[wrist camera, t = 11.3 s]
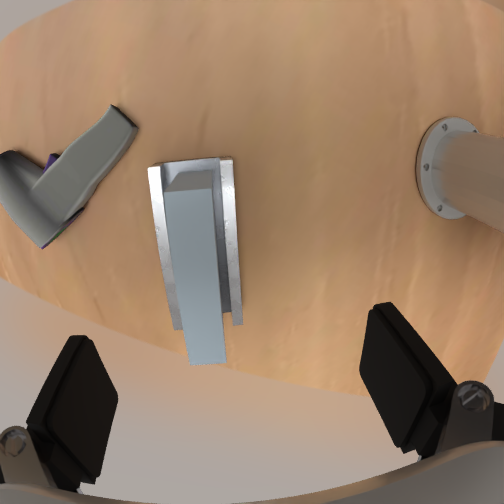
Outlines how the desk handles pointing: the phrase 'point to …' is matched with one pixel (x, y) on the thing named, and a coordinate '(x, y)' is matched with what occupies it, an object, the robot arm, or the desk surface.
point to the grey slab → (196, 264)
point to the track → (224, 228)
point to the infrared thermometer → (62, 178)
